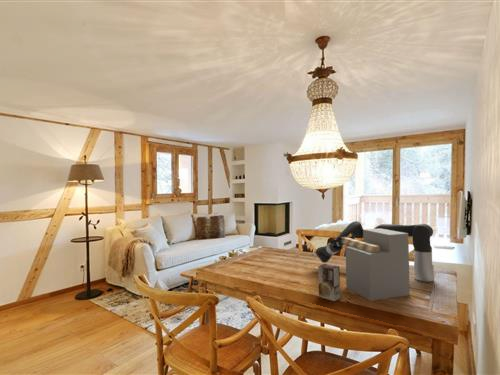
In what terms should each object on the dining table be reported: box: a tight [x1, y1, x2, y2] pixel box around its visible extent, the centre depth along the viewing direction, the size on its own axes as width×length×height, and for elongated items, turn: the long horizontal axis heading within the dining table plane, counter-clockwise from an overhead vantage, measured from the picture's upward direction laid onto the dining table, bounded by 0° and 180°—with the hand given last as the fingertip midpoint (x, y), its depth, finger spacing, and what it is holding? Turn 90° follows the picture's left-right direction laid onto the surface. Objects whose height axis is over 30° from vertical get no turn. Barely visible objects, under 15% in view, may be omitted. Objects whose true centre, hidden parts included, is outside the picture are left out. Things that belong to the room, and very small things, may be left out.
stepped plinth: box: [345, 228, 411, 302], centre depth 151 cm, size 20×24×32 cm
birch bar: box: [342, 236, 380, 253], centre depth 155 cm, size 28×3×3 cm, turn 16°
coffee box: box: [317, 263, 341, 302], centre depth 143 cm, size 9×6×16 cm
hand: (347, 237), depth 165 cm, fingers open, 8 cm apart
